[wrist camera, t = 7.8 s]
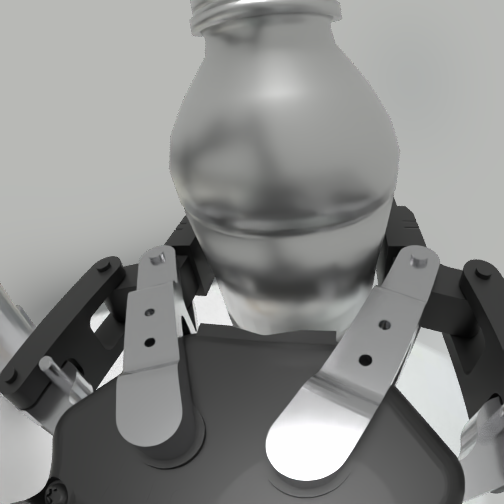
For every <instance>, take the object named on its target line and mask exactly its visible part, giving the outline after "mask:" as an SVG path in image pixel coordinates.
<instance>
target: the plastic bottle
mask: <svg viewBox="0 0 504 504" xmlns="http://www.w3.org/2000/svg"><path fill="white" fill-rule="evenodd" d="M190 2H191V8H192V14H193V17H192V18H191V19H190V26H191V32H192V35H193V36H198V37H200V36H201V37H202V36H204V37H205V44H206V45H205V47H206V48H205V58H204V60H203V62H202V64H201V66H200V67H199V69H198V71H197V73H196V75H195V77H194V79H193V81H192V83H191V85H190V87H189V89H188V91H187V93H186V95H185V97H184V99H183V102H182V104H181V107H180V110H179V113H178V116H177V119H176V121H175V124H174V127H173V130H172V133H171V136H170V161H169V162H170V163H169V169H170V173H171V177H172V179H173V182H174V185H175V187H176V191H177V193H178V196H179V199H180V202H181V204H182V205H183V207H184V209H185V213H186V215H187V218H188V220H189V222H190V224H191V226H192V228H193V231H194V233H195V235H196V237H197V239H198V241H199V244H200V246H201V248H202V250H203V252H204V254H205V256H206V258H207V261H208V263H209V265H210V267H211V269H212V271H213V273H214V275H215V277H216V280H217V283H218V285H219V288H220V291H221V294H222V297H223V300H224V302H225V305H226V308H227V310H228V313H229V316H230V319H231V321H232V324H233V327H237V328H240V329H243V330H247V331H250V332H253V333H257V334H260V335H271V334H278V333H285V332H291V331H297V330H321V331H337V332H336V341H337V342H340V340H341V339H342V337H343V336H344V334H345V333H346V331H347V330H348V328H349V326H350V325H351V323H352V322H353V320H354V319H355V317H356V315H357V314H358V312H359V311H360V309H361V307H362V306H363V304H364V302H365V301H366V299H367V297H368V296H369V294H370V292H371V291H372V286H373V282H374V276H375V270H376V265H377V261H378V258H379V254H380V250H381V247H382V243H383V239H384V235H385V231H386V227H387V223H388V219H389V215H390V210H391V206H392V202H393V196H394V191H395V189H396V183H397V175H398V164H399V155H400V149H399V146H398V142H397V138H396V135H395V131H394V128H393V124H392V121H391V118H390V116H389V114H388V113H387V111H386V109H385V108H384V106H383V104H382V103H381V101H380V99H379V98H378V96H377V94H376V93H375V91H374V90H373V88H372V87H371V85H370V84H369V82H368V81H367V80H366V78H365V77H364V76H363V75H362V73H361V72H360V71H359V70H358V69H357V67H356V66H355V65H354V64H353V63H352V61H351V60H350V59H349V58H348V57H347V56H346V55H345V53H344V52H343V51H342V50H341V49H340V48H339V47H338V46H337V45H336V44H335V40H334V37H333V34H332V31H331V24H330V23H331V22H335V21H339V20H341V19H342V15H341V8H340V3H339V2H338V1H336V0H190Z"/></svg>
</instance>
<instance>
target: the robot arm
mask: <svg viewBox="0 0 504 504" xmlns="http://www.w3.org/2000/svg"><path fill="white" fill-rule="evenodd" d="M376 271H377V279H378V286H377V285H376V286H374V288H373V289H372V291H371V292H370V294H369V296H368V297H367V299H366V301H365V302H364V304H363V306H362V307H361V309H360V311H359V312H358V314H357V315H356V317H355V319H354V320H353V322H352V323H351V325H350V326H349V328H348V330H347V331H346V333H345V334H344V336H343V337H342V339H341V340H340V342H337V341H336V332H337V331H321V330H297V331H291V332H285V333H278V334H271V335H260V334H257V333H253V332H250V331H247V330H243V329H240V328H237V327H233V326H227V325H215V324H204V323H200V326H199V327H198V321H197V314H196V308H195V304H194V302H193V299H194V296H195V295H198V296H206V295H207V293H208V291H209V289H210V287H211V284H212V282H213V279H214V277H215V275H214V273H213V271H212V269H211V267H210V265H209V263H208V261H207V258H206V256H205V254H204V252H203V250H202V248H201V246H200V244H199V241H198V239H197V237H196V235H195V233H194V231H193V228H192V226H191V224H190V222H189V220H188V218H187V215H186V216H185V217H184V218H183V220H182V221H181V222H180V224H179V225H178V226H177V228H176V230H174V232H173V233H172V235H171V236H170V238H169V239H168V240H167V242H166V243H165V244H164V245H162V246H157V247H154V248H152V249H150V250H148V251H146V252H145V253H144V254H143V255H142V256H141V258H140V260H139V264H134V265H129V266H125V267H123V265H122V263H121V261H120V259H119V258H118V257H115V256H111V257H107V258H104V259H102V260H100V261H98V262H97V263H95V264H94V265H93V266H92V267H91V268H90V269H89V270H88V271H87V272H86V273H85V274H84V275H83V276H82V277H81V279H80V280H79V281H78V282H77V283H76V284H75V285H74V286H73V287H72V288H71V289H70V290H69V291H68V292H67V294H66V295H65V296H64V297H63V298H62V299H61V300H60V301H59V302H58V303H57V305H56V306H55V307H54V308H53V309H52V310H51V311H50V312H49V314H48V315H47V316H46V317H45V318H44V319H43V321H42V322H41V323H40V324H39V325H38V326H37V327H36V326H35V325H34V323H33V322H32V321H31V319H30V318H29V317H28V315H27V314H26V313H25V311H24V310H23V308H22V307H21V306H19V305H16V306H15V304H14V303H13V302H12V300H11V299H10V297H9V296H8V294H7V293H6V291H5V290H4V288H3V287H2V285H1V283H0V392H1V393H2V394H3V395H4V396H5V397H6V398H7V399H8V400H9V401H10V402H12V403H13V404H14V405H15V407H16V408H17V409H18V410H19V411H21V412H22V413H23V414H24V415H25V416H27V417H28V418H29V419H30V420H32V421H33V422H34V423H35V424H37V425H39V426H41V427H42V428H43V429H45V430H46V431H47V432H49V433H50V434H51V435H53V453H52V464H51V470H50V475H49V479H48V481H47V483H46V485H45V487H44V488H43V489H42V490H41V491H40V492H39V493H38V494H36V495H35V496H33V497H31V498H29V499H27V500H24V501H19V502H15V503H12V504H462V503H463V502H466V501H468V500H471V499H474V498H476V497H479V496H481V495H484V494H486V493H489V492H491V493H501V492H504V278H503V277H502V276H501V274H500V273H499V271H498V270H497V269H496V268H495V267H494V266H493V265H492V264H490V263H488V262H485V261H483V260H470V261H468V262H467V263H466V264H465V265H464V268H463V271H462V270H458V269H454V268H450V267H447V266H444V265H442V264H440V259H439V257H438V255H437V254H436V253H435V252H434V251H432V250H431V249H429V248H427V247H426V244H425V242H424V239H423V236H422V234H421V232H420V229H419V226H418V224H417V222H416V219H415V217H414V214H413V213H412V212H411V211H410V210H409V209H408V208H407V207H405V206H397V205H396V202H395V199H394V197H393V202H392V206H391V210H390V215H389V219H388V223H387V227H386V231H385V235H384V239H383V243H382V247H381V250H380V254H379V258H378V261H377V265H376ZM103 302H104V303H105V305H106V306H107V308H108V310H109V311H110V314H109V315H108V316H107V318H106V319H105V320H104V321H103V323H102V324H101V325H100V327H99V328H98V329H97V330H96V332H95V333H94V332H93V331H92V329H91V327H90V319H91V317H92V315H93V314H94V313H95V312H96V310H97V309H98V308H99V306H100V305H101V304H102V303H103ZM421 327H423V328H427V329H431V330H435V331H439V332H442V334H443V338H444V340H445V343H446V346H447V349H448V351H449V354H450V357H451V360H452V363H453V366H454V369H455V372H456V375H457V378H458V382H459V385H460V388H461V391H462V395H463V398H464V402H465V405H466V409H467V413H468V417H469V421H468V422H467V423H466V424H465V426H464V428H463V430H462V433H461V439H460V440H461V450H460V454H459V457H458V458H457V457H456V455H455V454H454V453H453V452H452V451H451V450H450V448H449V447H448V446H447V445H446V444H445V443H444V441H443V440H442V439H441V438H440V437H439V436H438V434H437V433H436V432H435V431H434V430H433V429H432V427H431V426H430V425H429V424H428V423H427V422H426V421H425V419H424V418H423V417H422V416H421V415H420V414H419V413H418V411H417V410H416V409H415V408H414V407H413V406H412V405H411V403H410V402H409V401H408V400H407V399H406V398H405V397H404V395H403V394H402V393H401V392H400V391H399V390H398V389H397V388H396V384H397V382H398V380H399V378H400V375H401V373H402V371H403V369H404V366H405V364H406V362H407V359H408V357H409V355H410V353H411V350H412V348H413V346H414V343H415V341H416V338H417V336H418V333H419V331H420V328H421ZM123 350H124V357H123V371H122V373H121V374H120V375H118V376H117V377H115V378H114V379H112V380H111V381H109V382H108V383H106V384H105V385H103V386H102V387H100V388H98V389H97V387H98V386H99V384H100V383H101V381H102V380H103V378H104V377H105V376H106V374H107V373H108V371H109V370H110V368H111V367H112V365H113V364H114V363H115V361H116V360H117V358H118V357H119V355H120V354H121V353H122V351H123ZM96 389H97V390H96Z"/></svg>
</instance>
